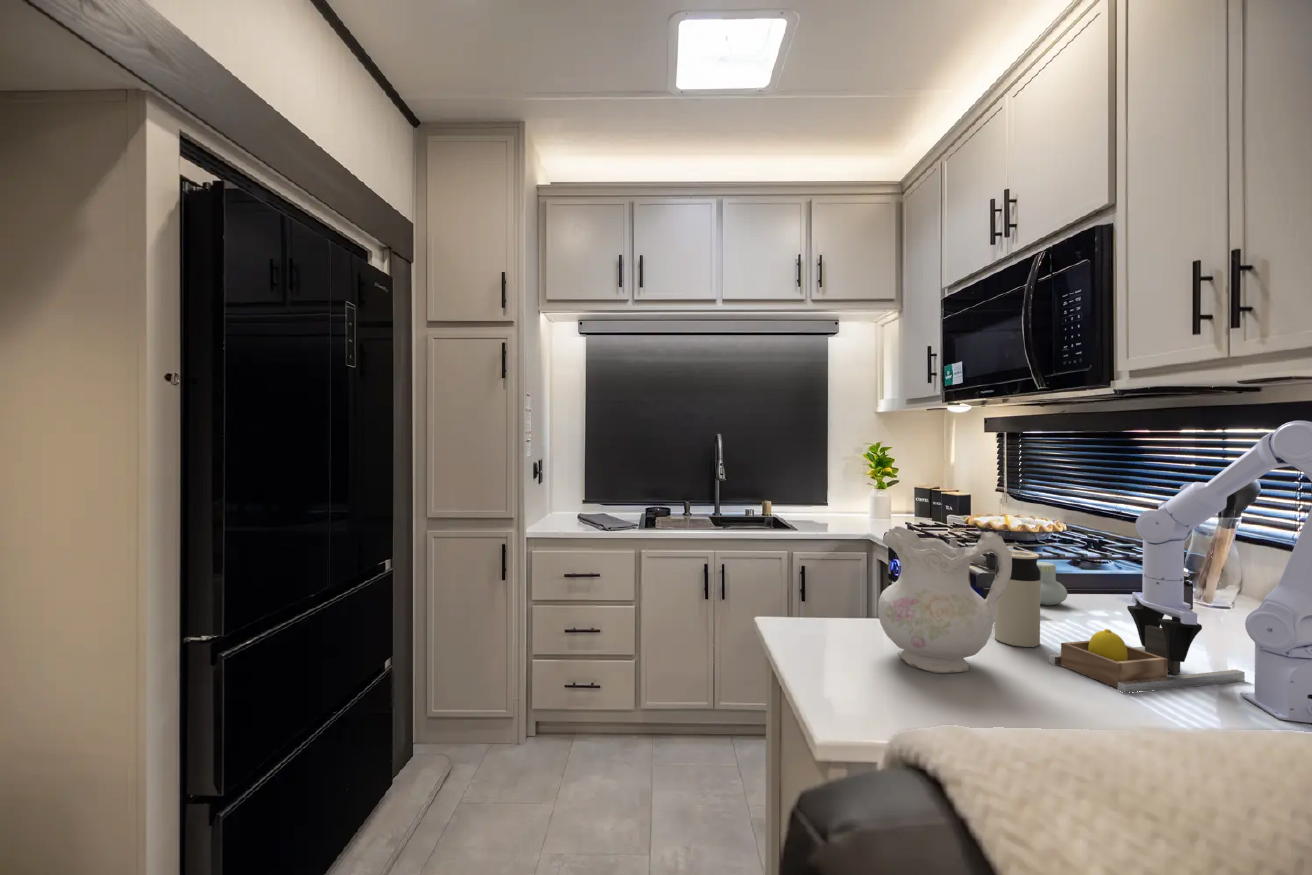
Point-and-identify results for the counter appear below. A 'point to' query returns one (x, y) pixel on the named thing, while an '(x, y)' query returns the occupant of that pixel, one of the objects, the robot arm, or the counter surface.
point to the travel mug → (1020, 603)
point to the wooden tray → (1134, 668)
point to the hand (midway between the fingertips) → (1162, 653)
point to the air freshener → (1050, 585)
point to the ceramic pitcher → (940, 600)
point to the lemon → (1108, 645)
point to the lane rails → (1171, 679)
